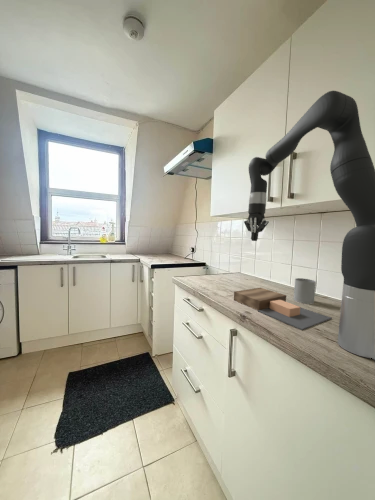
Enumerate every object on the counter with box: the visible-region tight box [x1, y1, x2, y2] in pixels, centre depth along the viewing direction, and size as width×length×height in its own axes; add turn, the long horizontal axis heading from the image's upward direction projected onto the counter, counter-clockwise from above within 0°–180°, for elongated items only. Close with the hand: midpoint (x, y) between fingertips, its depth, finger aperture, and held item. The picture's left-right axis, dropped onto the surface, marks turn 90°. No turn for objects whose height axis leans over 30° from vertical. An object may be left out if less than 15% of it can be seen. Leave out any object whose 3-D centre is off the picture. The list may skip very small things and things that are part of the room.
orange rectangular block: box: [270, 300, 301, 317], centre depth 78 cm, size 9×6×3 cm, turn 26°
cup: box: [293, 277, 317, 305], centre depth 94 cm, size 8×8×10 cm
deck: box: [233, 287, 287, 311], centre depth 90 cm, size 14×18×4 cm
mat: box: [257, 306, 333, 331], centre depth 76 cm, size 17×20×1 cm
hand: (254, 240), depth 94 cm, fingers closed
